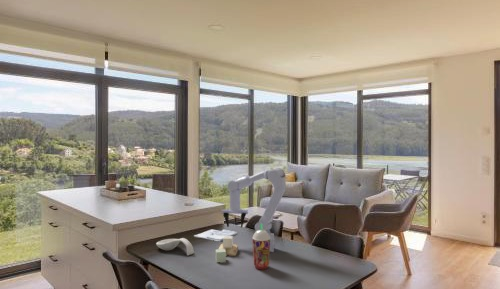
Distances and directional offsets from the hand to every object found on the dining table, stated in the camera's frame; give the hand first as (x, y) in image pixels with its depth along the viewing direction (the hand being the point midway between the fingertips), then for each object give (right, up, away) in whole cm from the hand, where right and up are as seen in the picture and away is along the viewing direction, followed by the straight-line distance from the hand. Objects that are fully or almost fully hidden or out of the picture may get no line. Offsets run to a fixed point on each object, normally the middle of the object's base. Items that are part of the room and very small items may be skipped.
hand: (234, 226), depth 189 cm
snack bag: (-13, -11, +20) cm, 26 cm away
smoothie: (+14, -11, -32) cm, 36 cm away
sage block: (-6, -11, -23) cm, 26 cm away
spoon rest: (-31, -11, -8) cm, 34 cm away
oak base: (-3, -11, -12) cm, 16 cm away
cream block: (-3, -8, -12) cm, 14 cm away
